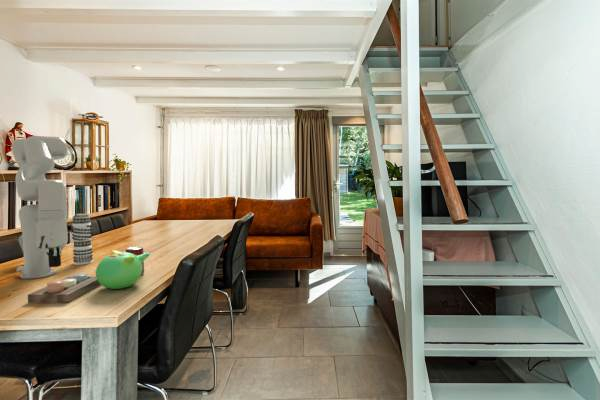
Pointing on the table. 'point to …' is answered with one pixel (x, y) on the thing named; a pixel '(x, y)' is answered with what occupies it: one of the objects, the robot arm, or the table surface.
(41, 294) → the brown wooden tray
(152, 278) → the table surface
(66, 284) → the cream button
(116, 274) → the green rounded body
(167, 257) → the table surface
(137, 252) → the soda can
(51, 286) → the terracotta button
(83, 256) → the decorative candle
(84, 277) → the slate-blue button
